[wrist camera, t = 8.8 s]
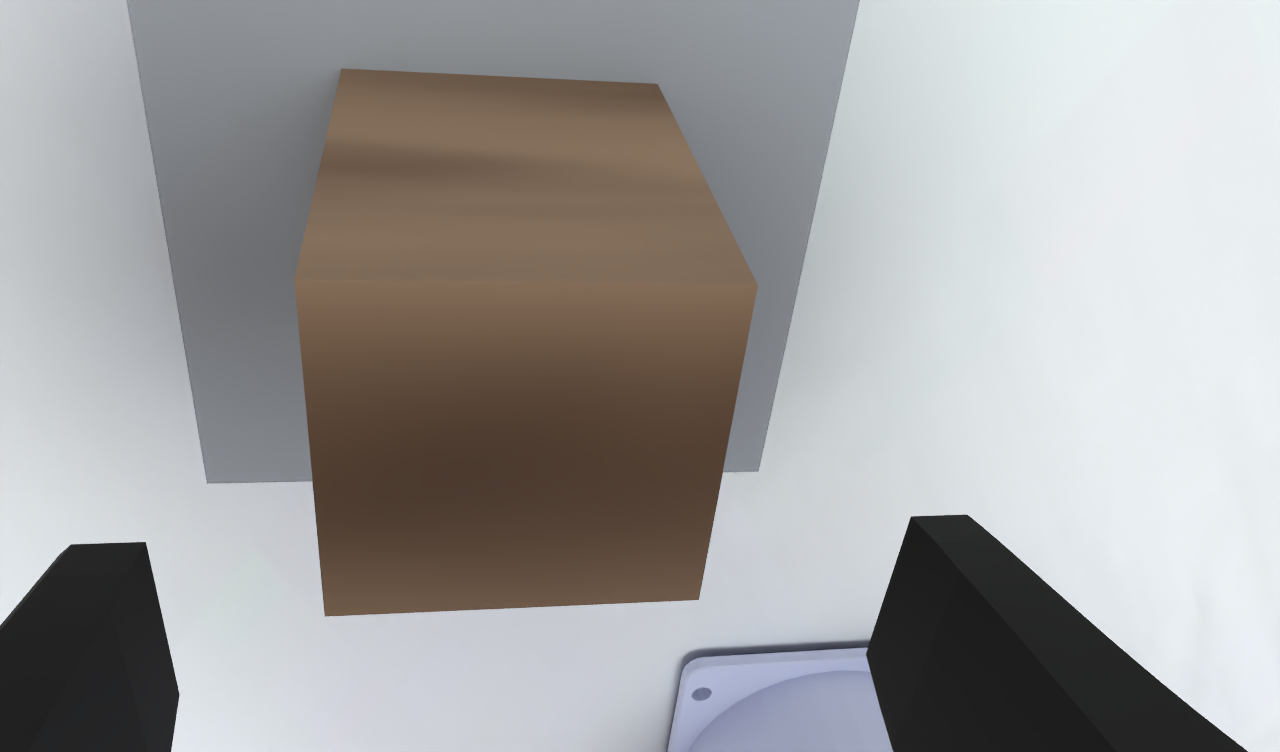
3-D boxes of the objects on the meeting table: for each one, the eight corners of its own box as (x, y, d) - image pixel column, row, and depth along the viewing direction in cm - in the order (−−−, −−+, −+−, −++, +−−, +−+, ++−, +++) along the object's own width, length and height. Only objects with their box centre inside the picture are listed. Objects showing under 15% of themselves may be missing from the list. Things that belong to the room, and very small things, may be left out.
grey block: (724, 382, 23) (758, 471, 20) (233, 384, 21) (207, 483, 18) (815, -125, 17) (877, -84, 15) (155, -183, 15) (102, -147, 13)
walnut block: (628, 340, 18) (698, 600, 13) (356, 340, 17) (325, 616, 12) (657, 84, 16) (757, 285, 11) (341, 68, 15) (293, 279, 10)
